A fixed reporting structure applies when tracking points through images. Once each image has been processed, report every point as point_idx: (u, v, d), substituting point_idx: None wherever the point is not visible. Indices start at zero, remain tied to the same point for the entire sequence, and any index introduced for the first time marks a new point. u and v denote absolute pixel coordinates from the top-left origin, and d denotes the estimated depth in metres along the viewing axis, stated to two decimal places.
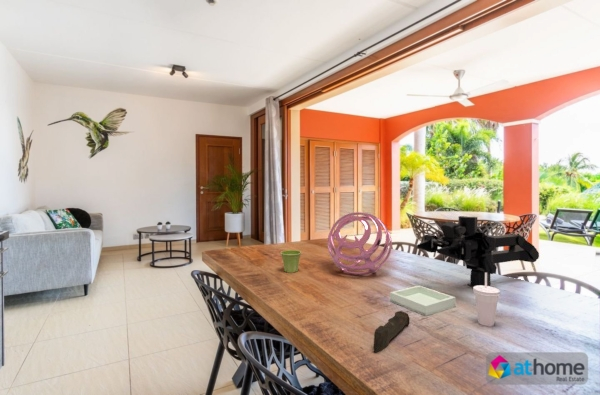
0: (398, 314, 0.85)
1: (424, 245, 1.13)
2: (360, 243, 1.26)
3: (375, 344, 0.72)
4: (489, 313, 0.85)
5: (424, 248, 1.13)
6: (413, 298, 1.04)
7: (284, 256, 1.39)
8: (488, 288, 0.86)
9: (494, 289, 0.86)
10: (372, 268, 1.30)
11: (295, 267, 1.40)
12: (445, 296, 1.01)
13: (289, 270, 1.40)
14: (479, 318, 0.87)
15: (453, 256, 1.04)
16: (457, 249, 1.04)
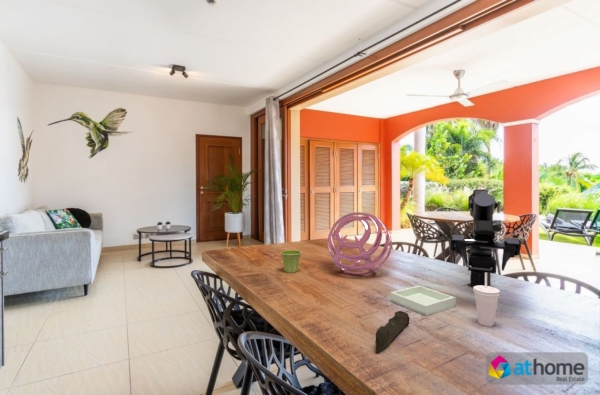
0: (398, 314, 0.85)
1: None
2: (360, 243, 1.26)
3: (377, 345, 0.72)
4: (489, 313, 0.85)
5: None
6: (413, 298, 1.04)
7: (284, 256, 1.39)
8: (488, 288, 0.86)
9: (494, 289, 0.86)
10: (372, 268, 1.30)
11: (295, 267, 1.40)
12: (445, 296, 1.01)
13: (289, 270, 1.40)
14: (479, 318, 0.87)
15: (508, 259, 0.95)
16: (510, 251, 0.94)
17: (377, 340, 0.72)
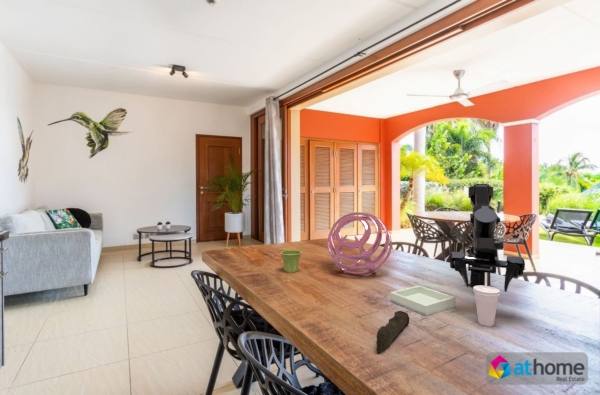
0: (398, 314, 0.85)
1: None
2: (360, 243, 1.26)
3: (378, 345, 0.72)
4: (489, 313, 0.85)
5: None
6: (413, 298, 1.04)
7: (284, 256, 1.39)
8: (488, 288, 0.86)
9: (494, 289, 0.86)
10: (372, 268, 1.30)
11: (295, 267, 1.40)
12: (445, 296, 1.01)
13: (289, 270, 1.40)
14: (479, 318, 0.87)
15: (511, 278, 0.89)
16: None
17: (378, 340, 0.72)
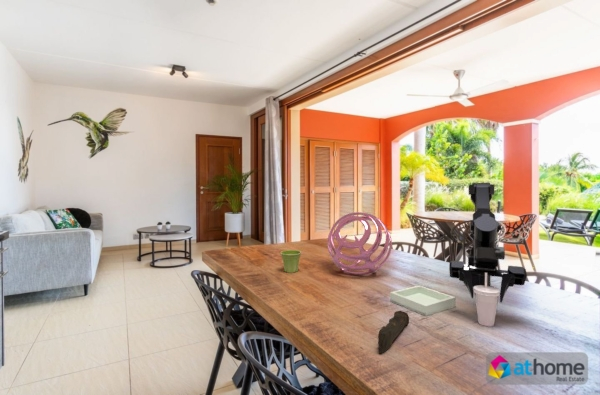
0: (398, 314, 0.85)
1: None
2: (360, 243, 1.26)
3: (380, 345, 0.71)
4: (489, 313, 0.85)
5: None
6: (413, 298, 1.04)
7: (284, 256, 1.39)
8: (488, 288, 0.86)
9: (494, 289, 0.86)
10: (372, 268, 1.30)
11: (295, 267, 1.40)
12: (445, 296, 1.01)
13: (289, 270, 1.40)
14: (479, 318, 0.87)
15: (506, 288, 0.87)
16: None
17: (380, 341, 0.72)
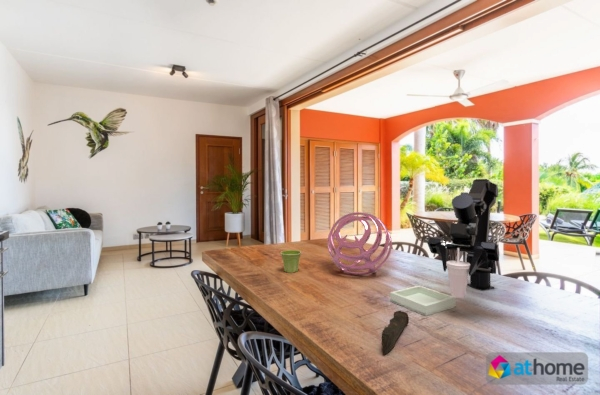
0: (398, 314, 0.85)
1: (446, 261, 0.94)
2: (360, 243, 1.26)
3: (384, 346, 0.71)
4: (459, 285, 0.89)
5: None
6: (413, 298, 1.04)
7: (284, 256, 1.39)
8: (460, 262, 0.91)
9: (466, 263, 0.90)
10: (372, 268, 1.30)
11: (295, 267, 1.40)
12: (445, 296, 1.01)
13: (289, 270, 1.40)
14: (450, 290, 0.92)
15: (480, 263, 0.91)
16: (481, 255, 0.90)
17: (384, 342, 0.71)
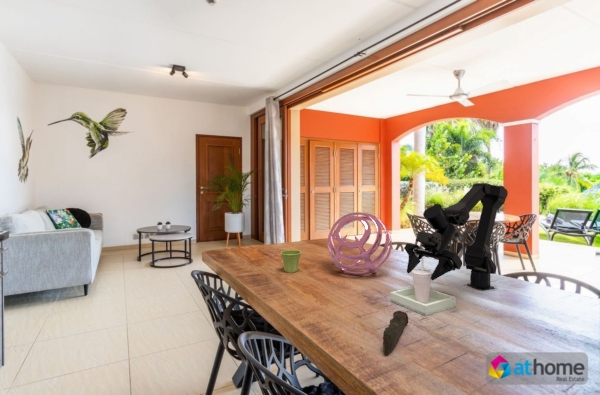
0: (397, 314, 0.85)
1: (412, 265, 1.06)
2: (360, 243, 1.26)
3: (386, 347, 0.71)
4: (419, 291, 1.00)
5: (413, 267, 1.06)
6: (413, 298, 1.04)
7: (284, 256, 1.39)
8: (423, 271, 1.01)
9: (428, 272, 1.00)
10: (372, 268, 1.30)
11: (295, 267, 1.40)
12: (445, 296, 1.01)
13: (289, 270, 1.40)
14: (415, 295, 1.02)
15: (447, 271, 0.97)
16: (446, 263, 0.97)
17: (386, 342, 0.71)
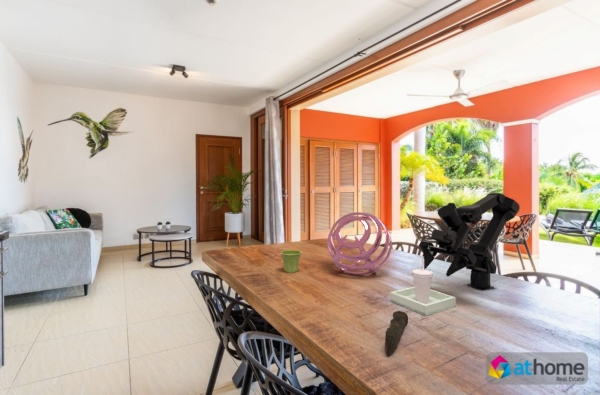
0: (397, 314, 0.85)
1: (427, 261, 1.09)
2: (360, 243, 1.26)
3: (388, 348, 0.71)
4: (419, 291, 1.00)
5: (428, 263, 1.10)
6: (413, 298, 1.04)
7: (284, 256, 1.39)
8: (423, 271, 1.01)
9: (428, 273, 1.00)
10: (372, 268, 1.30)
11: (295, 267, 1.40)
12: (445, 296, 1.01)
13: (289, 270, 1.40)
14: None
15: (461, 267, 1.01)
16: (461, 260, 1.00)
17: (388, 343, 0.71)
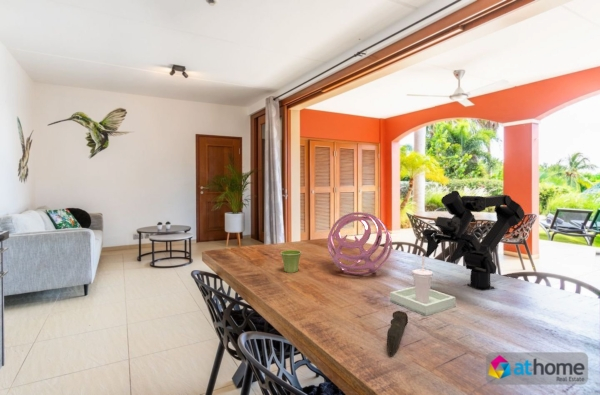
0: (397, 314, 0.85)
1: (431, 249, 1.11)
2: (360, 243, 1.26)
3: (390, 348, 0.70)
4: (419, 291, 1.00)
5: (432, 251, 1.11)
6: (413, 298, 1.04)
7: (284, 256, 1.39)
8: (423, 271, 1.01)
9: (428, 273, 1.00)
10: (372, 268, 1.30)
11: (295, 267, 1.40)
12: (445, 296, 1.01)
13: (289, 270, 1.40)
14: None
15: (465, 253, 1.03)
16: (465, 246, 1.02)
17: (390, 343, 0.71)
